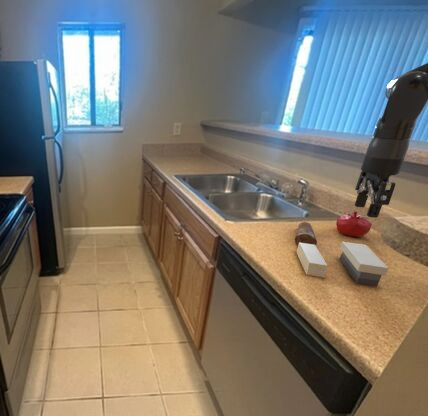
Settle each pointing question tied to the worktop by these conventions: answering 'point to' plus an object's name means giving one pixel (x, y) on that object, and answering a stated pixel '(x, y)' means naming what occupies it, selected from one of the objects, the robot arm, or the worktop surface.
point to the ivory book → (363, 258)
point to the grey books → (360, 273)
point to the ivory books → (311, 260)
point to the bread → (305, 234)
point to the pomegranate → (353, 225)
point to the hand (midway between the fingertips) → (365, 211)
